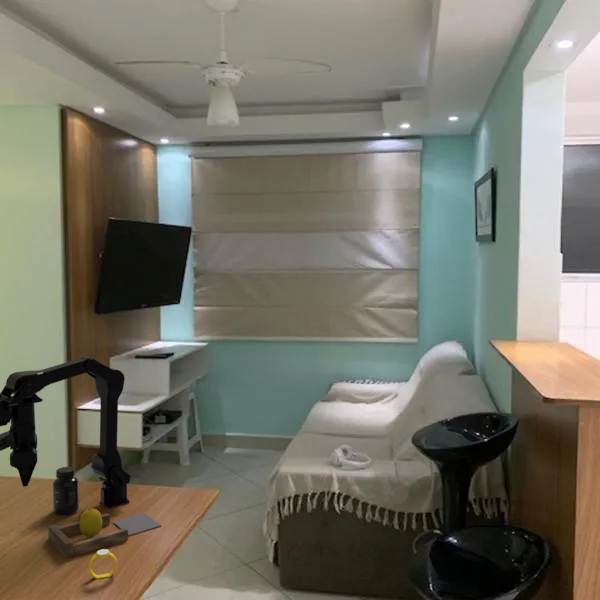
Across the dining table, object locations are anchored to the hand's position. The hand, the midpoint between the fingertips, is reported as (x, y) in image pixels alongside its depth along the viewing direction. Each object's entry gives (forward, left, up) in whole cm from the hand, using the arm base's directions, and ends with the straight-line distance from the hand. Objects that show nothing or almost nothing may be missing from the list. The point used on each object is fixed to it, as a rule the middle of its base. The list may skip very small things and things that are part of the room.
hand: (25, 479), depth 160 cm
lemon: (-11, +15, -14) cm, 23 cm away
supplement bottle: (-12, -6, -14) cm, 20 cm away
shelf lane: (-11, +15, -14) cm, 23 cm away
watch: (-6, +35, -14) cm, 38 cm away
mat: (-24, +15, -14) cm, 31 cm away
